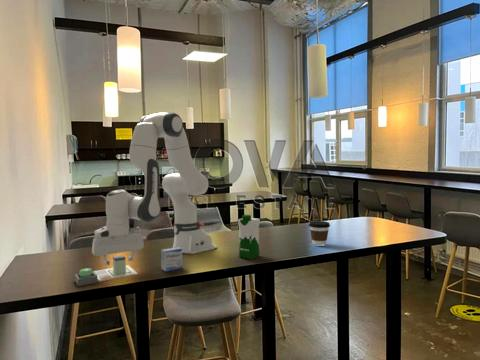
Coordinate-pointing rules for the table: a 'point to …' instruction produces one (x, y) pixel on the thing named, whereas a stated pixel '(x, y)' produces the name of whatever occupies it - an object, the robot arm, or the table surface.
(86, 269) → the button
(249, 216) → the milk carton
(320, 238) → the coffee cup
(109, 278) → the picture board
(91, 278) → the button housing
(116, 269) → the marker block
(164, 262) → the medicine box
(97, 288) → the table surface
